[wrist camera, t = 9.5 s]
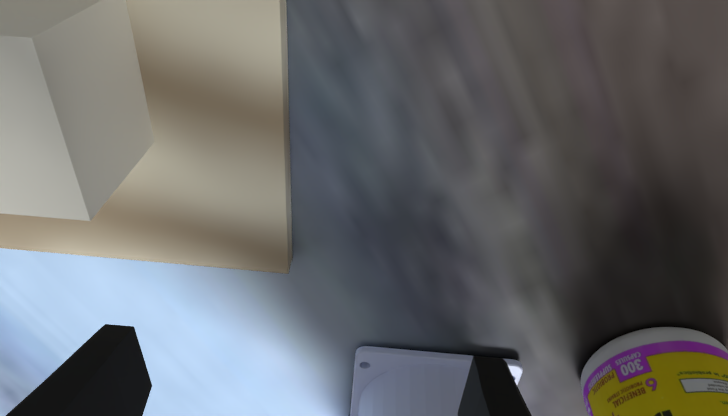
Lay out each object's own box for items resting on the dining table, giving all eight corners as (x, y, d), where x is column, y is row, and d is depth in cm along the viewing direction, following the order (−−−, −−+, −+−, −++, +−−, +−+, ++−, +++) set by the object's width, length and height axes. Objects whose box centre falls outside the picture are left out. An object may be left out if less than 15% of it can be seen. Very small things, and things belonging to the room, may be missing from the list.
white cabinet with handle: (154, 142, 18) (85, 227, 14) (11, 130, 18) (-99, 212, 14) (123, -12, 15) (23, 42, 11) (-49, -25, 15) (-208, 23, 11)
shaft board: (292, 257, 22) (273, 330, 19) (-34, 228, 22) (-109, 296, 19) (280, -241, 12) (236, -268, 9) (-290, -286, 13) (-531, -328, 9)
